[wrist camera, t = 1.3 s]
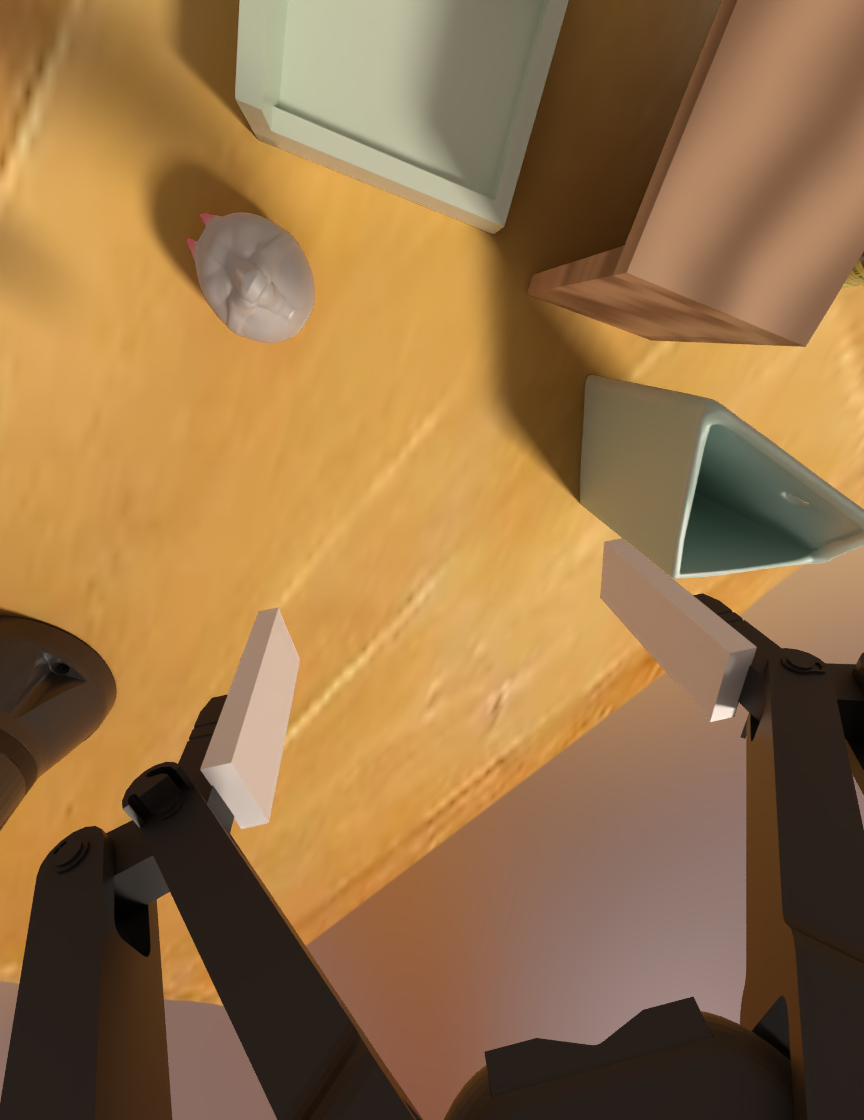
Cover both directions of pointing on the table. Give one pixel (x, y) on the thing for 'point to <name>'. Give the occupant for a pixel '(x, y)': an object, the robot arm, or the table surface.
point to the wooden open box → (744, 188)
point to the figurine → (253, 276)
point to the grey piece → (703, 486)
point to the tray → (402, 92)
